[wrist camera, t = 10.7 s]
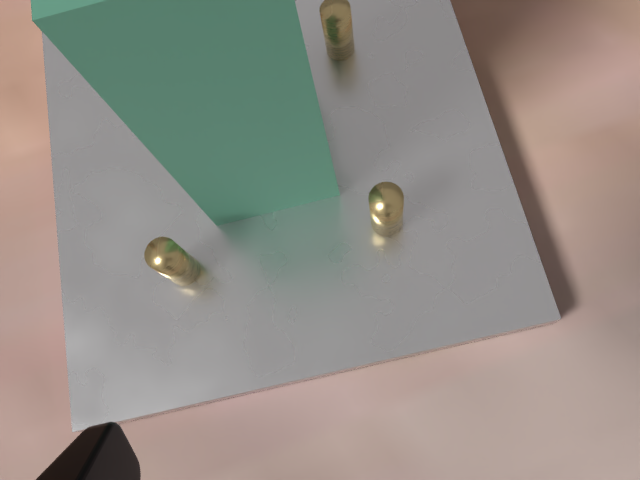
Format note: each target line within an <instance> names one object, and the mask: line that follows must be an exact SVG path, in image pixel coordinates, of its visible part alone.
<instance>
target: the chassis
mask: <svg viewBox="0 0 640 480" xmlns="http://www.w3.org/2000/svg"><path fill="white" fill-rule="evenodd" d="M295 4H296V8H297V13H298V17H299V21H300V26H301V30H302V34H303V38H304V43H305V47H306V51H307V56H308V60H309V64H310V68H311V73H312V77H313V81H314V86H315V90H316V94H317V98H318V103H319V107H320V111H321V116H322V120H323V124H324V128H325V133H326V137H327V141H328V146H329V150H330V154H331V158H332V163H333V167H334V171H335V176H336V180H337V184H338V188H339V193H340V195H339V196H335V197H331V198H327V199H323V200H319V201H315V202H311V203H307V204H303V205H299V206H295V207H291V208H287V209H283V210H279V211H275V212H271V213H267V214H263V215H259V216H255V217H251V218H247V219H243V220H239V221H235V222H231V223H227V224H223V225H219V226H216V225H215V224H214V222H213V221H212V220H211V219H210V218H209V217H208V216H207V215H206V214H205V212H204V211H203V210H202V209H201V208H200V207H199V206H198V205H197V203H196V202H195V201H194V200H193V199H192V198H191V197H190V196H189V195H188V193H187V192H186V191H185V190H184V189H183V188H182V187H181V186H180V185H179V183H178V182H177V181H176V180H175V179H174V178H173V177H172V176H171V174H170V173H169V172H168V171H167V170H166V169H165V168H164V167H163V166H162V164H161V163H160V162H159V161H158V160H157V159H156V158H155V157H154V156H153V154H152V153H151V152H150V151H149V150H148V149H147V148H146V147H145V146H144V144H143V143H142V142H141V141H140V140H139V139H138V138H137V137H136V135H135V134H134V133H133V132H132V131H131V130H130V129H129V128H128V127H127V125H126V124H125V123H124V122H123V121H122V120H121V119H120V118H119V117H118V115H117V114H116V113H115V112H114V111H113V110H112V109H111V108H110V106H109V105H108V104H107V103H106V102H105V101H104V100H103V99H102V98H101V96H100V95H99V94H98V93H97V92H96V91H95V90H94V89H93V88H92V86H91V85H90V84H89V83H88V82H87V81H86V80H85V79H84V78H83V76H82V75H81V74H80V73H79V72H78V71H77V70H76V69H75V67H74V66H73V65H72V64H71V63H70V62H69V61H68V60H67V59H66V57H65V56H64V55H63V54H62V53H61V52H60V51H59V50H58V49H57V47H56V46H55V45H54V44H53V43H52V42H51V41H50V40H49V38H48V37H47V36H46V35H45V34H44V33H43V32H42V38H43V51H44V65H45V78H46V91H47V104H48V118H49V131H50V144H51V157H52V170H53V184H54V197H55V210H56V223H57V237H58V250H59V263H60V276H61V289H62V303H63V316H64V329H65V342H66V356H67V369H68V382H69V395H70V408H71V422H72V432H83V431H84V430H85V429H86V428H88V427H90V426H94V425H98V424H102V423H107V422H115V423H117V424H121V423H126V422H130V421H134V420H139V419H143V418H147V417H152V416H156V415H160V414H165V413H169V412H173V411H178V410H182V409H186V408H190V407H195V406H199V405H203V404H208V403H212V402H216V401H221V400H225V399H229V398H234V397H238V396H242V395H247V394H251V393H255V392H260V391H264V390H268V389H273V388H277V387H281V386H286V385H290V384H294V383H299V382H303V381H307V380H312V379H316V378H320V377H325V376H329V375H333V374H337V373H342V372H346V371H350V370H355V369H359V368H363V367H368V366H372V365H376V364H381V363H385V362H389V361H394V360H398V359H402V358H407V357H411V356H415V355H420V354H424V353H428V352H433V351H437V350H441V349H446V348H450V347H454V346H459V345H463V344H467V343H472V342H476V341H480V340H484V339H489V338H493V337H497V336H502V335H506V334H510V333H515V332H519V331H523V330H528V329H532V328H536V327H541V326H545V325H549V324H554V323H555V322H557V321H559V320H560V319H561V317H560V314H559V311H558V308H557V305H556V302H555V299H554V296H553V294H552V291H551V288H550V285H549V282H548V279H547V276H546V274H545V271H544V268H543V265H542V262H541V259H540V256H539V253H538V251H537V248H536V245H535V242H534V239H533V236H532V233H531V231H530V228H529V225H528V222H527V219H526V216H525V213H524V210H523V208H522V205H521V202H520V199H519V196H518V193H517V190H516V188H515V185H514V182H513V179H512V176H511V173H510V170H509V168H508V165H507V162H506V159H505V156H504V153H503V150H502V147H501V145H500V142H499V139H498V136H497V133H496V130H495V127H494V125H493V122H492V119H491V116H490V113H489V110H488V107H487V104H486V102H485V99H484V96H483V93H482V90H481V87H480V84H479V82H478V79H477V76H476V73H475V70H474V67H473V64H472V61H471V59H470V56H469V53H468V50H467V47H466V44H465V41H464V39H463V36H462V33H461V30H460V27H459V24H458V21H457V18H456V16H455V13H454V10H453V7H452V4H451V1H450V0H295Z"/></svg>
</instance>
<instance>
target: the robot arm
mask: <svg viewBox="0 0 640 480" xmlns="http://www.w3.org/2000/svg"><path fill="white" fill-rule="evenodd" d="M36 480H140V465H139V462H138V459H137V457H136V455H135V453H134V451H133V449H132V447H131V445H130V444H129V442H128V440H127V438H126V436H125V434H124V432H123V430H122V429H121V427H120V426H119V425H118V424H117V423H115V422H107V423H102V424H98V425H94V426H90V427H88V428H86V429H85V430H84V431H83V432H82V433H81V434H80V435H79V436H78V437H77V438H76V439H75V440H74V441H73V442H72V443H71V444H70V445H69V446H68V447H67V448H66V449H65V450H64V451H63V452H62V453H61V454H60V455H59V456H58V457H57V458H56V459H55V461H54V462H53V463H52V464H51V465H50V466H49V467H48V468H47V469H46V470H45V471H44V472H43V473H42V474H41V475H40V476H39V477H38V478H37V479H36Z"/></svg>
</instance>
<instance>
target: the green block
mask: <svg viewBox="0 0 640 480" xmlns="http://www.w3.org/2000/svg"><path fill="white" fill-rule="evenodd" d="M31 10H32V21H33V22H34V23H35V24H36V25H37V26H38V27H39V28H40V30H41V31H42V32H43V33H44V34H45V35H46V36H47V37H48V38H49V40H50V41H51V42H52V43H53V44H54V45H55V46H56V47H57V49H58V50H59V51H60V52H61V53H62V54H63V55H64V56H65V57H66V59H67V60H68V61H69V62H70V63H71V64H72V65H73V66H74V67H75V69H76V70H77V71H78V72H79V73H80V74H81V75H82V76H83V78H84V79H85V80H86V81H87V82H88V83H89V84H90V85H91V86H92V88H93V89H94V90H95V91H96V92H97V93H98V94H99V95H100V96H101V98H102V99H103V100H104V101H105V102H106V103H107V104H108V105H109V106H110V108H111V109H112V110H113V111H114V112H115V113H116V114H117V115H118V117H119V118H120V119H121V120H122V121H123V122H124V123H125V124H126V125H127V127H128V128H129V129H130V130H131V131H132V132H133V133H134V134H135V135H136V137H137V138H138V139H139V140H140V141H141V142H142V143H143V144H144V146H145V147H146V148H147V149H148V150H149V151H150V152H151V153H152V154H153V156H154V157H155V158H156V159H157V160H158V161H159V162H160V163H161V164H162V166H163V167H164V168H165V169H166V170H167V171H168V172H169V173H170V174H171V176H172V177H173V178H174V179H175V180H176V181H177V182H178V183H179V185H180V186H181V187H182V188H183V189H184V190H185V191H186V192H187V193H188V195H189V196H190V197H191V198H192V199H193V200H194V201H195V202H196V203H197V205H198V206H199V207H200V208H201V209H202V210H203V211H204V212H205V214H206V215H207V216H208V217H209V218H210V219H211V220H212V221H213V222H214V224H215V225H216V226H219V225H223V224H227V223H231V222H235V221H239V220H243V219H247V218H251V217H255V216H259V215H263V214H267V213H271V212H275V211H279V210H283V209H287V208H291V207H295V206H299V205H303V204H307V203H311V202H315V201H319V200H323V199H327V198H331V197H335V196H339V195H340V193H339V188H338V184H337V180H336V176H335V171H334V167H333V163H332V158H331V154H330V150H329V146H328V141H327V137H326V133H325V128H324V124H323V120H322V116H321V111H320V107H319V103H318V98H317V94H316V90H315V86H314V81H313V77H312V73H311V68H310V64H309V60H308V56H307V51H306V47H305V43H304V38H303V34H302V30H301V26H300V21H299V17H298V13H297V8H296V4H295V0H31Z"/></svg>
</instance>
